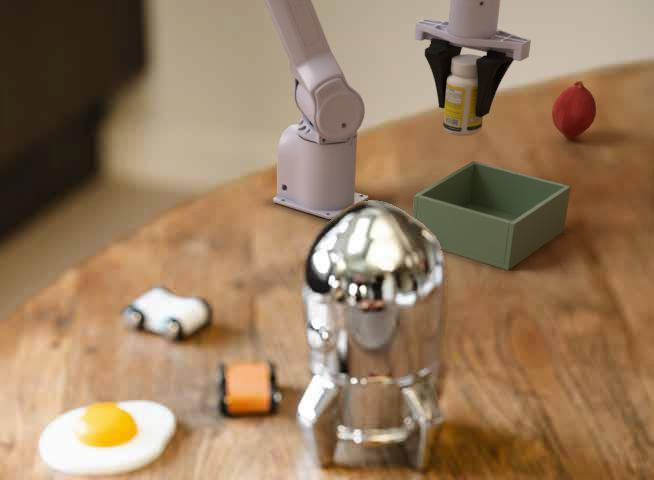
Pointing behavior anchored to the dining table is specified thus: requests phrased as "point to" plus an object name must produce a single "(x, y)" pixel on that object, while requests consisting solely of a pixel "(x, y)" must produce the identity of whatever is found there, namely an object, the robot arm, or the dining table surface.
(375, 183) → the dining table surface
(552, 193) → the bin
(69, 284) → the dining table surface
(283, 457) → the dining table surface
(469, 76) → the supplement bottle
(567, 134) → the onion
